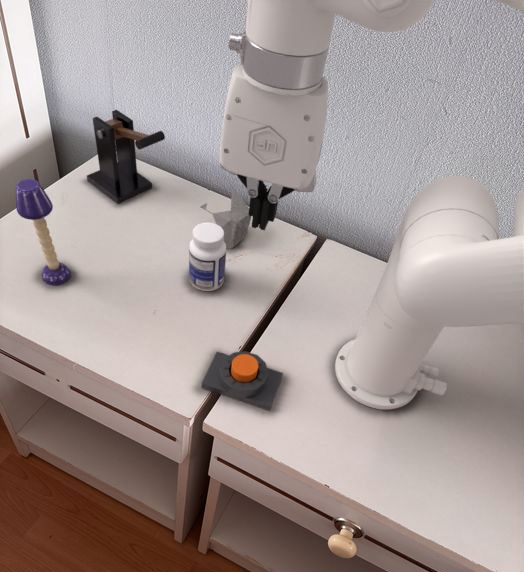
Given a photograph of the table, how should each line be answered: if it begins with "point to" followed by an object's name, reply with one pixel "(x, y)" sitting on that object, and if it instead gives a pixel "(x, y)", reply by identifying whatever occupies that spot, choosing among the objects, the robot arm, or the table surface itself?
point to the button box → (252, 392)
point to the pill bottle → (207, 257)
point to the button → (244, 368)
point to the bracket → (116, 176)
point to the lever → (135, 135)
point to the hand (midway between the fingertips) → (261, 221)
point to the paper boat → (233, 220)
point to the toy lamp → (40, 227)
